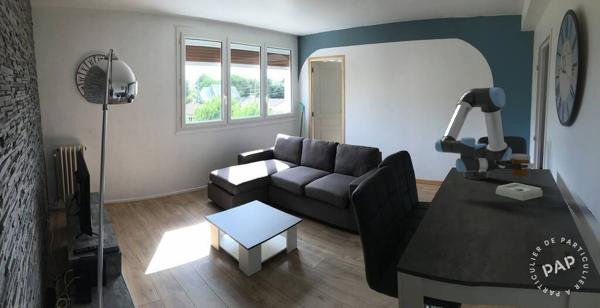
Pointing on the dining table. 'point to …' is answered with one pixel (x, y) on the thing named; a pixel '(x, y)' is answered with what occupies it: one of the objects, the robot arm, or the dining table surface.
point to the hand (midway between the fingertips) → (529, 164)
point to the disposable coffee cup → (520, 160)
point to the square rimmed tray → (519, 191)
